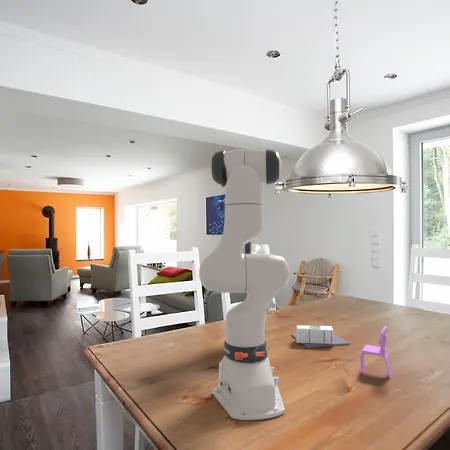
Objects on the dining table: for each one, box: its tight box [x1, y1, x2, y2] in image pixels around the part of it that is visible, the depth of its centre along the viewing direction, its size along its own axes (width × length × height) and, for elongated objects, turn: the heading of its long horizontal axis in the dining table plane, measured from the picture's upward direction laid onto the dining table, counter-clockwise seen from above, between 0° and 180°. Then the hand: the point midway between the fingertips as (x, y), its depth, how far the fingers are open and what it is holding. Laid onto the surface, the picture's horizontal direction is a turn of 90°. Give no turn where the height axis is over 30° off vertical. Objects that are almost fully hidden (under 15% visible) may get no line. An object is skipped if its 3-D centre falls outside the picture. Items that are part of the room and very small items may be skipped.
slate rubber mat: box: [291, 333, 350, 349], centre depth 146 cm, size 16×18×1 cm
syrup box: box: [295, 324, 335, 344], centre depth 142 cm, size 6×6×14 cm
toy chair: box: [359, 325, 393, 379], centre depth 113 cm, size 8×9×15 cm
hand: (274, 306), depth 142 cm, fingers closed
